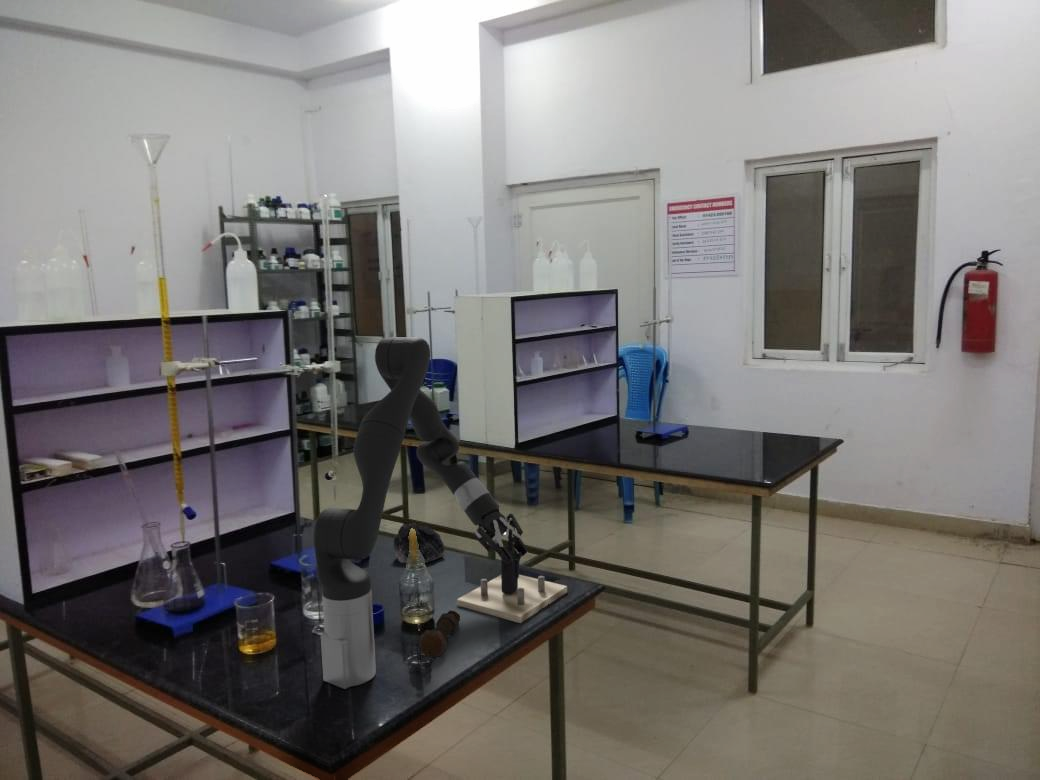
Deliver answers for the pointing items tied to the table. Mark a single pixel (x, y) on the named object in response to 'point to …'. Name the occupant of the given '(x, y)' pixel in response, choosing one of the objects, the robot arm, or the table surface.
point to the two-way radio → (510, 569)
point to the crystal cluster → (426, 539)
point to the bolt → (439, 634)
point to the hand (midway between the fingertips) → (517, 557)
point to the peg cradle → (512, 598)
